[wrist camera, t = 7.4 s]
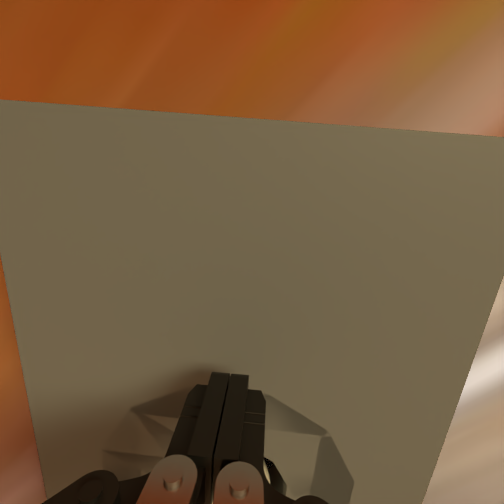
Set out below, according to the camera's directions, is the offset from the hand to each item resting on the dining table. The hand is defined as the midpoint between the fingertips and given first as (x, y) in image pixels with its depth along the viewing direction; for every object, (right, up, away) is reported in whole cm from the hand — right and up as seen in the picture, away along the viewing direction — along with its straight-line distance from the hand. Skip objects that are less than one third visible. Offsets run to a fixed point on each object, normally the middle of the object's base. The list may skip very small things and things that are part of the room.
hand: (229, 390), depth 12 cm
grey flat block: (0, -1, +5) cm, 5 cm away
